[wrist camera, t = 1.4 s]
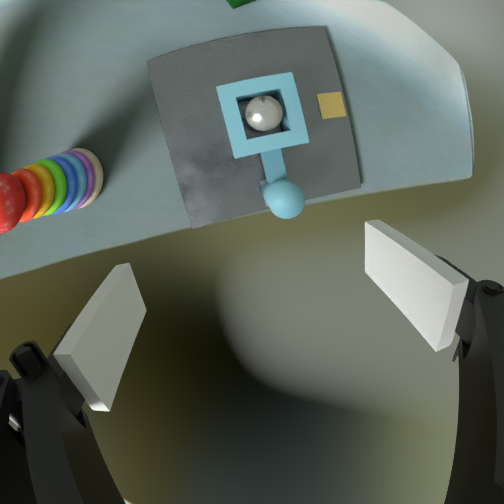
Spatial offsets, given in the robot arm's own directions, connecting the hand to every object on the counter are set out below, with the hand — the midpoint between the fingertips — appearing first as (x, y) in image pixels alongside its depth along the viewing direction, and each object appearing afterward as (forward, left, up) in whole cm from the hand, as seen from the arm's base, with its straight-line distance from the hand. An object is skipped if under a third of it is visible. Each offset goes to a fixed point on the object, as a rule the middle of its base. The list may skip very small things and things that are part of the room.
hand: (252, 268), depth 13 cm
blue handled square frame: (+5, +4, -21) cm, 22 cm away
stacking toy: (-19, +8, -22) cm, 31 cm away
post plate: (+5, +8, -22) cm, 24 cm away
